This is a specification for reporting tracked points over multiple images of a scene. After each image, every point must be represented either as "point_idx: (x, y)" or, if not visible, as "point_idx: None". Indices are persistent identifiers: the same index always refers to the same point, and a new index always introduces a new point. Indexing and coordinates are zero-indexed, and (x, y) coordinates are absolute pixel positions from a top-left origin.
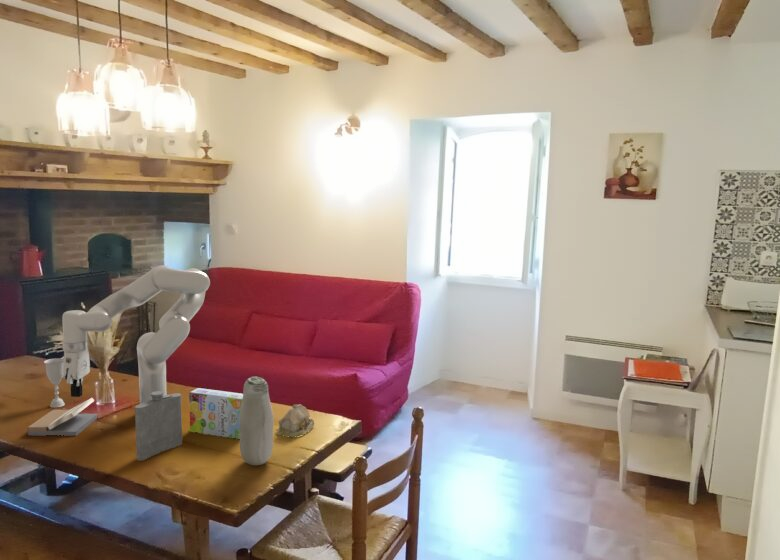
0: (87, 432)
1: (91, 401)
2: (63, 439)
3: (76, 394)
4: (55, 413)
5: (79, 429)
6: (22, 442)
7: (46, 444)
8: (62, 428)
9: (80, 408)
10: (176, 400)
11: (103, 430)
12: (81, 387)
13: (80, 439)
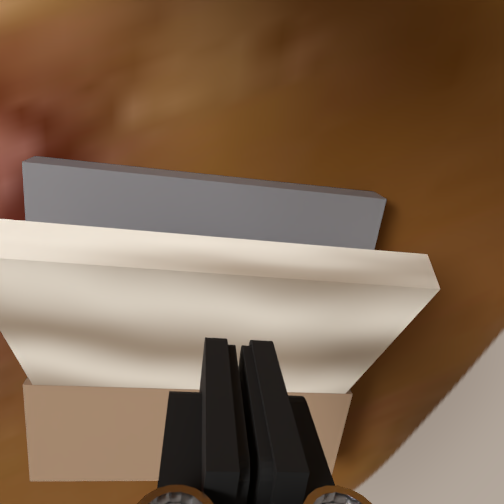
0: (328, 135)
1: (30, 233)
2: (412, 248)
3: (301, 397)
4: (106, 440)
5: (338, 193)
6: (400, 425)
7: (459, 309)
8: None
9: (276, 261)
10: None
11: (309, 19)
12: (235, 427)
13: (440, 142)
